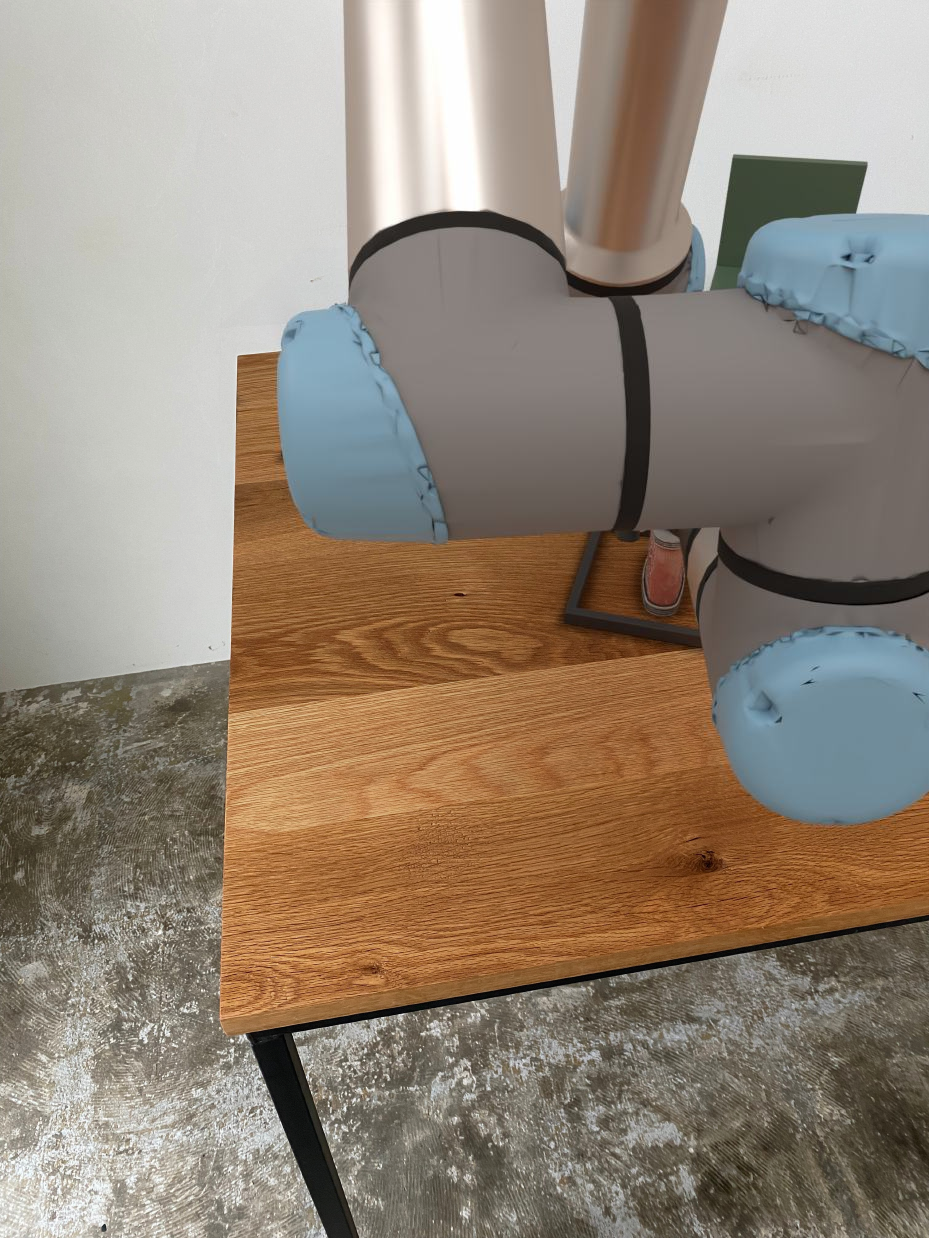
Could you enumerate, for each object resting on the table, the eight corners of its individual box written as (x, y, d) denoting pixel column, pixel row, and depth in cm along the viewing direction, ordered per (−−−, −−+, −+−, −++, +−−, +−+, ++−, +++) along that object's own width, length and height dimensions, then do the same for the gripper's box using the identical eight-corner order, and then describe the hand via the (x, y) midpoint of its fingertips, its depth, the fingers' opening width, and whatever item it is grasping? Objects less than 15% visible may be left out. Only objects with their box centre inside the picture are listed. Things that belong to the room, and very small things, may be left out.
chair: (692, 391, 100) (720, 196, 87) (705, 337, 109) (733, 154, 96) (818, 406, 97) (869, 206, 83) (822, 349, 106) (867, 161, 93)
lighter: (681, 618, 74) (699, 515, 67) (638, 613, 74) (651, 511, 68) (684, 555, 80) (701, 455, 73) (644, 551, 80) (657, 451, 73)
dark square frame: (563, 623, 74) (564, 612, 73) (596, 523, 83) (597, 512, 83) (740, 655, 71) (742, 643, 70) (753, 547, 80) (756, 536, 79)
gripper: (503, 625, 47) (528, 481, 66) (1032, 637, 44) (901, 482, 63) (500, 484, 44) (527, 373, 62) (1075, 486, 40) (922, 369, 59)
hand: (715, 428), depth 62 cm, fingers open, 13 cm apart
